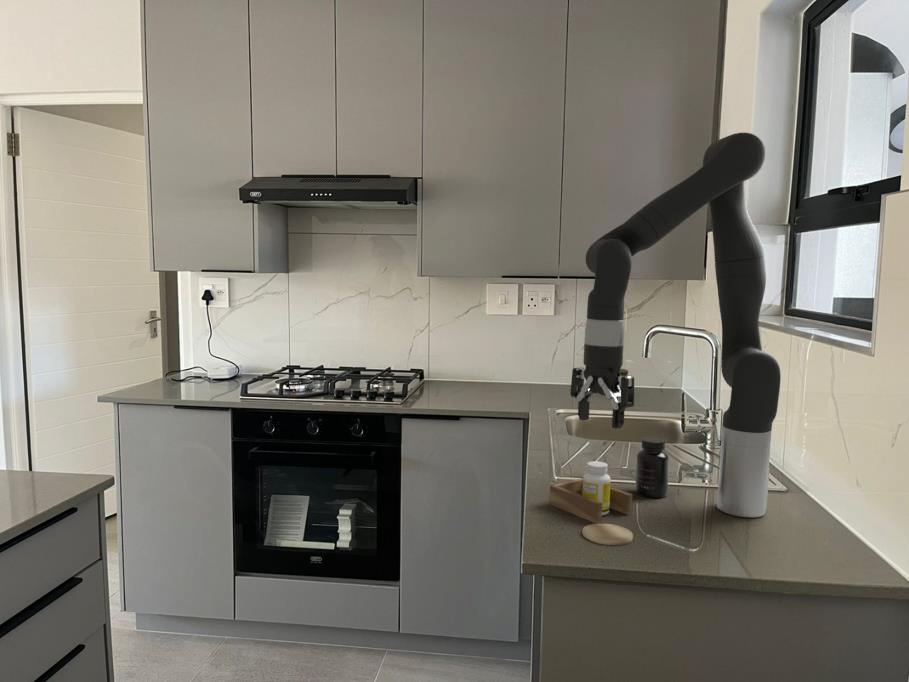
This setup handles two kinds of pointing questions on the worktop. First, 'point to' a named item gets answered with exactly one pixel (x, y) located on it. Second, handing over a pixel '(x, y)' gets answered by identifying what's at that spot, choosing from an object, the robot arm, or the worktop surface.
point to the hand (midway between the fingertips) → (599, 423)
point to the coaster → (607, 534)
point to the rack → (586, 500)
